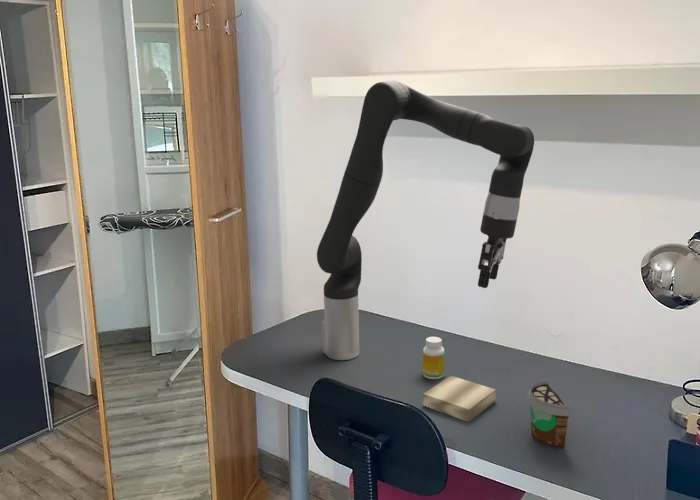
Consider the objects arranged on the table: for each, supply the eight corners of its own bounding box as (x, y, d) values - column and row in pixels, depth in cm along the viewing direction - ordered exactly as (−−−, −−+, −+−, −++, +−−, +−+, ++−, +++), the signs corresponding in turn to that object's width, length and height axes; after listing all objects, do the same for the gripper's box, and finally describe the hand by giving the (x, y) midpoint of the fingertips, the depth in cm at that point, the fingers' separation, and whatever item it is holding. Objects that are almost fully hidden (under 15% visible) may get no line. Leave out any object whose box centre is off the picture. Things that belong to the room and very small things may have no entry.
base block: (423, 405, 154) (423, 393, 153) (450, 387, 163) (451, 375, 162) (468, 421, 146) (469, 409, 146) (495, 401, 155) (495, 389, 154)
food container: (517, 422, 146) (519, 380, 143) (544, 421, 146) (547, 379, 143) (537, 453, 134) (540, 408, 131) (567, 451, 134) (570, 406, 132)
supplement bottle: (443, 380, 166) (444, 344, 164) (421, 379, 167) (422, 342, 165) (444, 371, 171) (445, 336, 169) (423, 370, 172) (424, 334, 170)
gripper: (491, 207, 157) (478, 272, 161) (476, 215, 144) (462, 285, 149) (523, 213, 154) (509, 279, 159) (510, 222, 142) (495, 294, 146)
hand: (487, 282), depth 154 cm, fingers open, 8 cm apart
